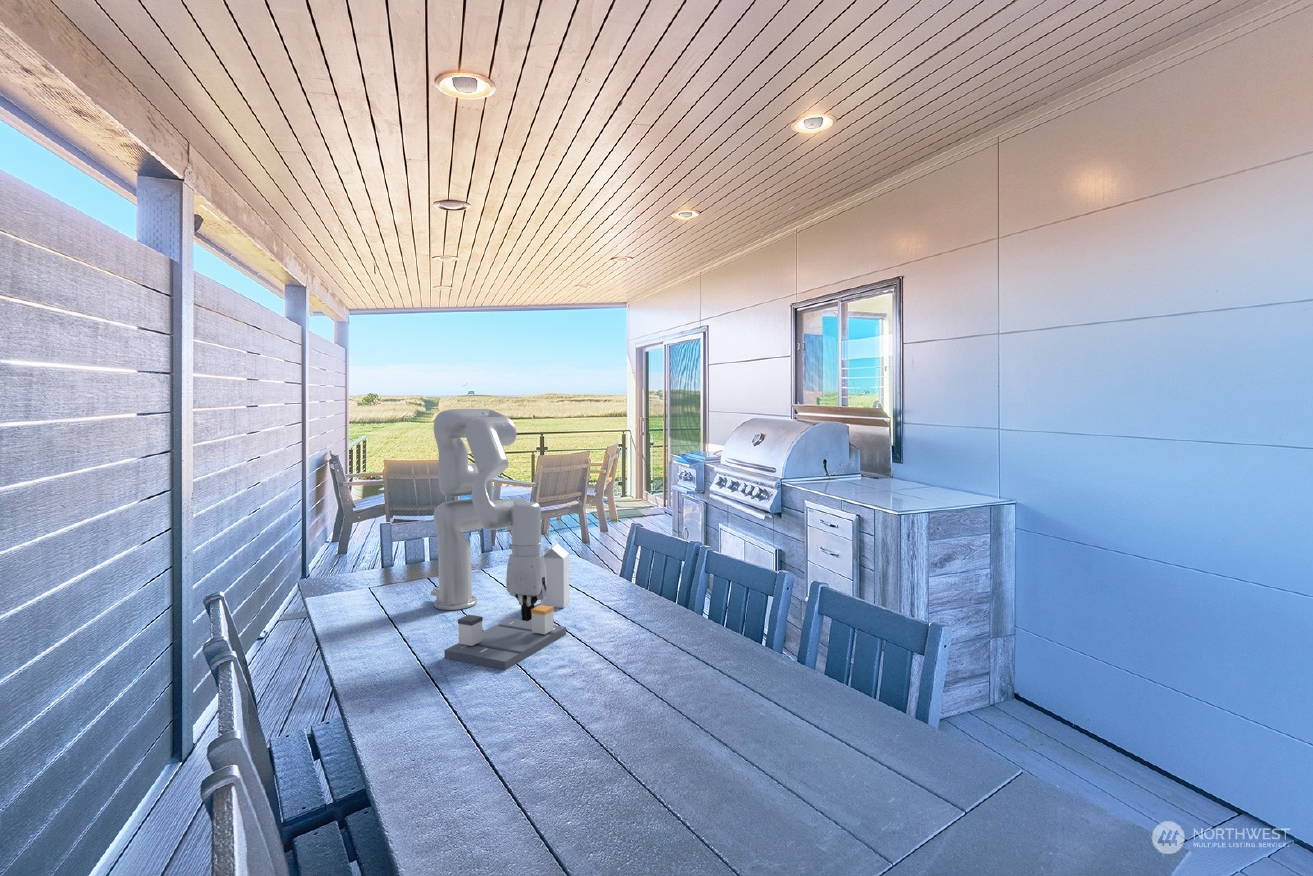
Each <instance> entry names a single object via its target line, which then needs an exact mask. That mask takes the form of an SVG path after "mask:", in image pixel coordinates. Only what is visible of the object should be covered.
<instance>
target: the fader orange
mask: <svg viewBox="0 0 1313 876" xmlns="http://www.w3.org/2000/svg"><path fill="white" fill-rule="evenodd" d="M554 610H555V608H554V607H552V606H545V605H541V604H539V605H537V606H534V608H533V609H531V613H532V619H531V621H532V632H534V633H540V634H547V633H548V632H550V631H552V630H554V625H555V623H554V622H555V621H554Z"/></svg>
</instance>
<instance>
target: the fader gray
mask: <svg viewBox="0 0 1313 876" xmlns="http://www.w3.org/2000/svg"><path fill="white" fill-rule="evenodd" d="M483 619H484V618H483V616H481V615H475V614H468V615H465V616H462V617H461V618H458V619H457V624H458V643H459V644H464V645H470V646H473V645H475V644H477V643H479V642H481V641H483V640H482V632H483V621H484V620H483Z"/></svg>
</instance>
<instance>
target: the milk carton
mask: <svg viewBox="0 0 1313 876" xmlns="http://www.w3.org/2000/svg"><path fill="white" fill-rule="evenodd" d="M558 542H559V541H558V539H557V540H555V541H554V542H553V543H552V544H551V546H550V545H548V546H546V547H545V549H544V550H543V552H544V553H545V554H543V556H544V561H545V566H546V575H547V590H546V591H545V594H546V598H544V599H542V600H540V605H545V606H552V607H554V609H555V608H561V609H565V608H566V606H567V605H568V604H569V602H570V553H569V552H568V551H567V550H566V549H565V548H563V547H562V546H561V545H560V544H559V543H558Z"/></svg>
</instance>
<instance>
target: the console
mask: <svg viewBox="0 0 1313 876" xmlns="http://www.w3.org/2000/svg"><path fill="white" fill-rule="evenodd" d="M566 635H567V627H566V626H563V625H557V624H556V625H555V624H554V630H552V631H550V632H548V633H547V634H540V633H534V632H532V620H529V621H522V619H518V618H513V617H510V618H508V619H505V620H503V621H501V622H499V623H498V624H495V625H493V626H491V627H489V628H487V629H485V630H482V640H483V641H481V642H479V643H477V644H475V645H473V646H470V645H464V644H459V642H458V643H456V644H454V645H452V646H449V647H448V648H445V649H444V650H443V651H444V659H446V660H447V659H448V660H453V661H458V662H463V663H467V664H473V665H477V666H478V665H479V666H483V667H487V668H492V669H498V670H504V671H507V670H509V669H510V668H512V667H513V666H515V665H517V664H518V663H520V662H522V661H524V660H525V659H527V658H529V657H530V656H532V655H534V654H536V653H537V652H539V651H541V650H542V649H544V648H546V647H547V646H549V645H551V644H553V643H554V642H555V641H557V640H559V639H561V638H562V637H564V636H566Z"/></svg>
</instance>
